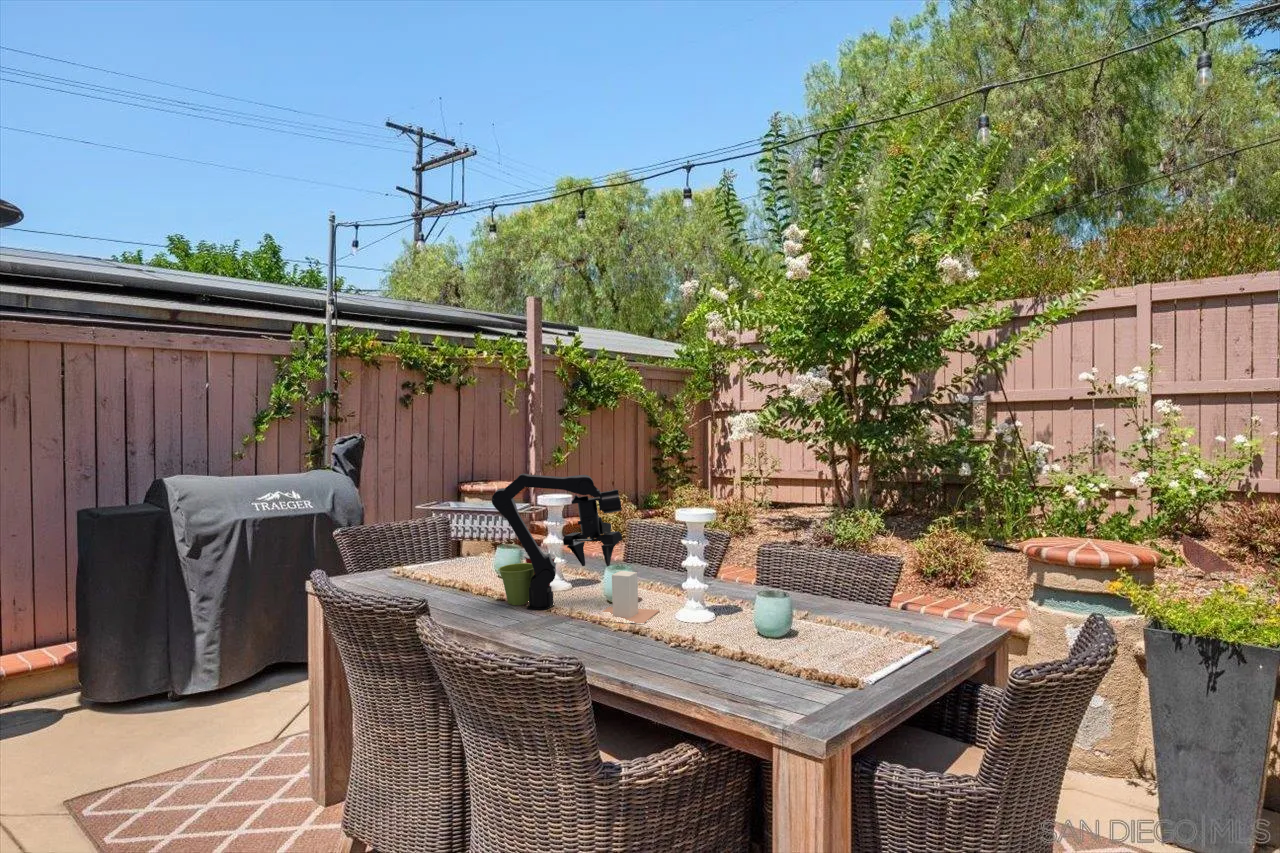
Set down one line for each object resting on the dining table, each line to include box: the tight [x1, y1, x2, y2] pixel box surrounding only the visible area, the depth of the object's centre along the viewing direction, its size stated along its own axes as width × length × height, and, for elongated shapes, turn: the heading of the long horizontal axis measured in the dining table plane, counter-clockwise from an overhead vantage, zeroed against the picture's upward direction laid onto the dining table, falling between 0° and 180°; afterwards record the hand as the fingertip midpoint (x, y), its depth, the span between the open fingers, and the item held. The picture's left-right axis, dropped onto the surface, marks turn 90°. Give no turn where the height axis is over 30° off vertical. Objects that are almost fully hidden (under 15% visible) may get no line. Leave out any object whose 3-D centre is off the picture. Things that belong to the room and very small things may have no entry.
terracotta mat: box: [590, 606, 661, 624], centre depth 230 cm, size 16×14×1 cm
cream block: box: [611, 570, 639, 618], centre depth 229 cm, size 6×6×12 cm
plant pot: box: [497, 562, 534, 606], centre depth 248 cm, size 12×12×11 cm
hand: (595, 565), depth 243 cm, fingers open, 9 cm apart
